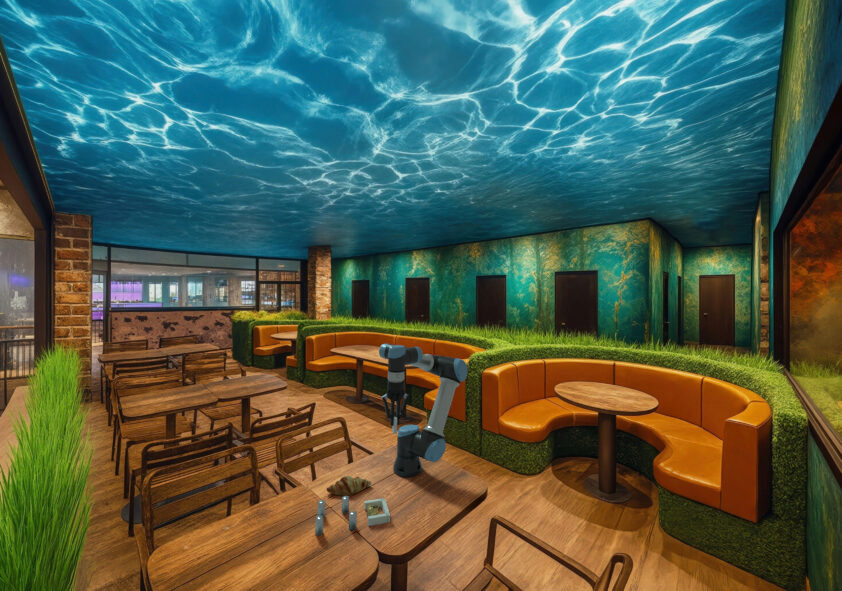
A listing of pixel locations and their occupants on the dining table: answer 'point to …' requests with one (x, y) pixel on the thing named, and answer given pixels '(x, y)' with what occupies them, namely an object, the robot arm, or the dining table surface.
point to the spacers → (344, 510)
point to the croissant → (348, 486)
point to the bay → (381, 517)
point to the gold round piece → (372, 510)
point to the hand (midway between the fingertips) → (394, 432)
